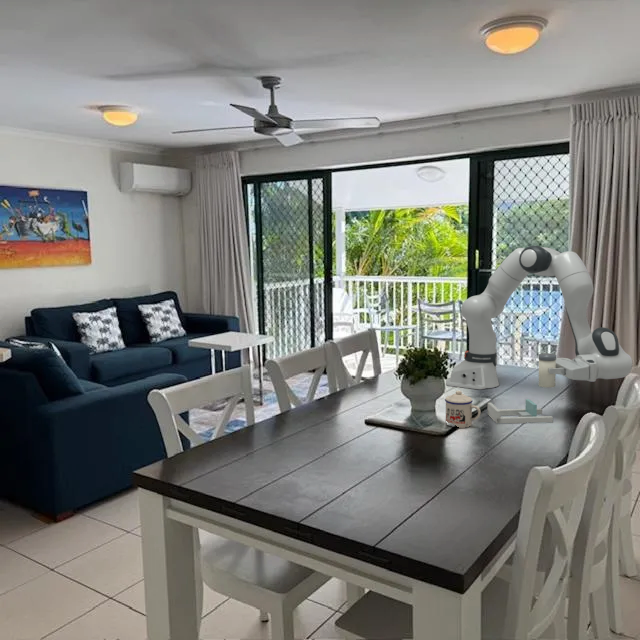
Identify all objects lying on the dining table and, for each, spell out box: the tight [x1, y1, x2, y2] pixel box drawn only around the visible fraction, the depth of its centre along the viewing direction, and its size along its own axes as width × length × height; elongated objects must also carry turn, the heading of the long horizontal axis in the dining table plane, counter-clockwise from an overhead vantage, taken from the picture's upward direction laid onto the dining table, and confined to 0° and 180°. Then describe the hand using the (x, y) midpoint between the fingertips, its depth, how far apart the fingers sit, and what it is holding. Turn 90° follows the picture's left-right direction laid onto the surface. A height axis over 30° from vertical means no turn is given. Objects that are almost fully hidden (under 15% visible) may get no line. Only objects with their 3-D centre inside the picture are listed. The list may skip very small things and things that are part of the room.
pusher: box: [517, 398, 538, 417], centre depth 212 cm, size 4×7×6 cm, turn 1°
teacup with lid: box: [444, 390, 481, 429], centre depth 205 cm, size 12×9×12 cm
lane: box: [487, 402, 554, 424], centre depth 212 cm, size 19×11×4 cm, turn 91°
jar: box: [538, 352, 557, 389], centre depth 211 cm, size 6×6×11 cm
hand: (544, 368), depth 211 cm, fingers closed on jar, 5 cm apart
